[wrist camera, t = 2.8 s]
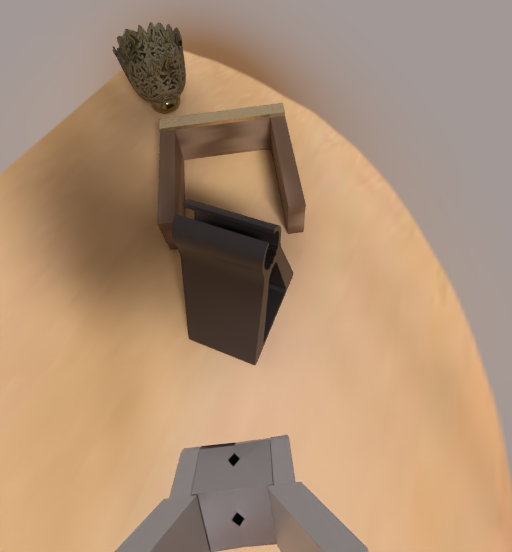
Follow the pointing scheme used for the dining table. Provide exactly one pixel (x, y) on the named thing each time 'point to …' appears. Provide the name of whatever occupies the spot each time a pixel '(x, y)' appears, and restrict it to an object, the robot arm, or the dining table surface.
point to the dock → (226, 140)
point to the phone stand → (230, 278)
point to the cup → (154, 64)
